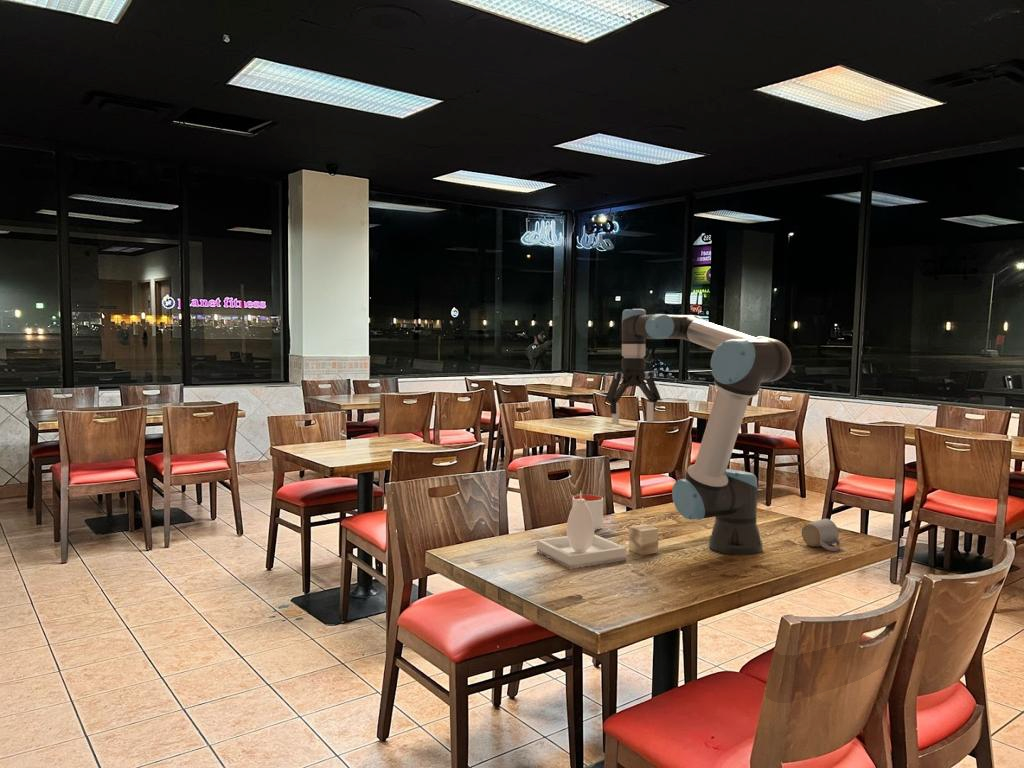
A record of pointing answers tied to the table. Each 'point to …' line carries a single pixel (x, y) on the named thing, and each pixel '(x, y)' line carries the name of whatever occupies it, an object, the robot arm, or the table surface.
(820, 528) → the ceramic mug
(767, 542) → the table surface
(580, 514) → the sauce bottle
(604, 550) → the tray
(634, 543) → the birch block
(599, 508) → the cup
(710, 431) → the robot arm
